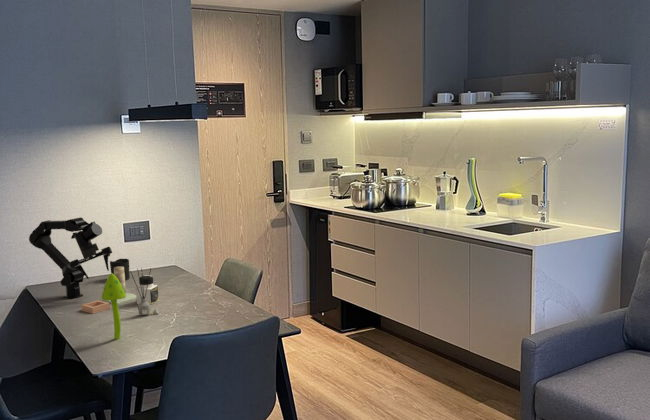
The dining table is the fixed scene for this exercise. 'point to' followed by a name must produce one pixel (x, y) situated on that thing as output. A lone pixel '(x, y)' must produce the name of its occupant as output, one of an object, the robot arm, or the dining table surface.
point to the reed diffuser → (144, 300)
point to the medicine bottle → (151, 290)
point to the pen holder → (122, 263)
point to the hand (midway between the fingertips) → (98, 274)
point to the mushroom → (114, 300)
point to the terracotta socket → (95, 306)
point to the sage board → (120, 301)
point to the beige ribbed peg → (120, 277)
